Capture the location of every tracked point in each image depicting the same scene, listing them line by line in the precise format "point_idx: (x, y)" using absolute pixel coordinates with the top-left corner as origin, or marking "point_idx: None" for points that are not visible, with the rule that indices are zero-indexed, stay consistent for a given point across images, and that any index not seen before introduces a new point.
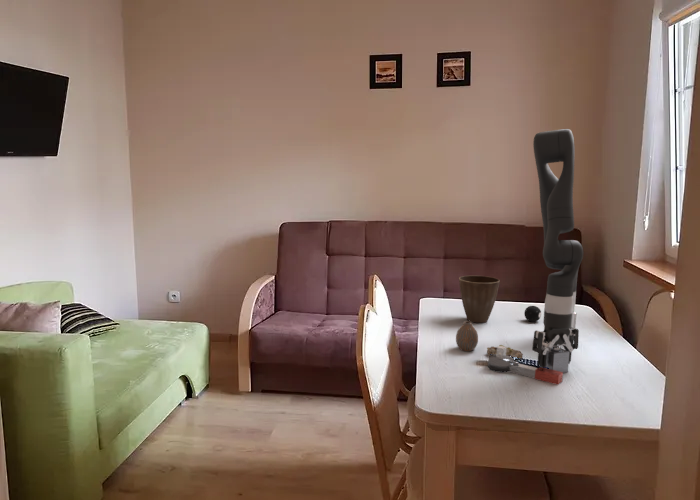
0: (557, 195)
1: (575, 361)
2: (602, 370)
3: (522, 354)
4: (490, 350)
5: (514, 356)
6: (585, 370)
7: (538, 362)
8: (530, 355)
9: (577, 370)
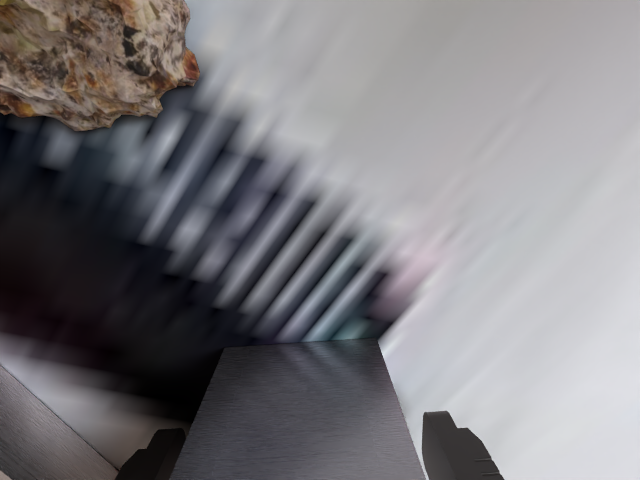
0: None
1: (629, 285)
2: (632, 470)
3: (172, 87)
4: None
5: (58, 102)
6: (523, 451)
7: (125, 474)
8: (348, 13)
9: None
